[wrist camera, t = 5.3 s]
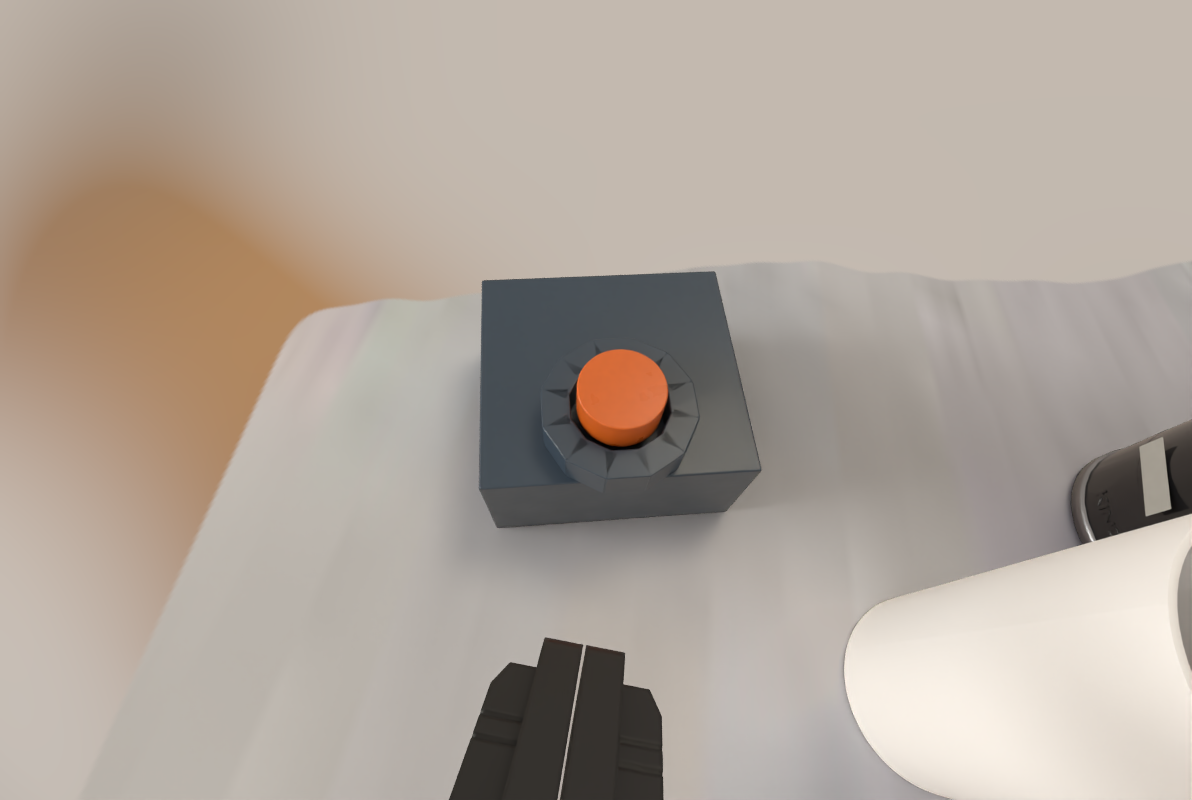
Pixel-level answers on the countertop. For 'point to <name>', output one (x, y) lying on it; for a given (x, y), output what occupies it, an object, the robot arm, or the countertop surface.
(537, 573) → the countertop surface
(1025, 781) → the cup
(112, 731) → the countertop surface
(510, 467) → the grey button base
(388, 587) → the countertop surface
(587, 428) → the button
